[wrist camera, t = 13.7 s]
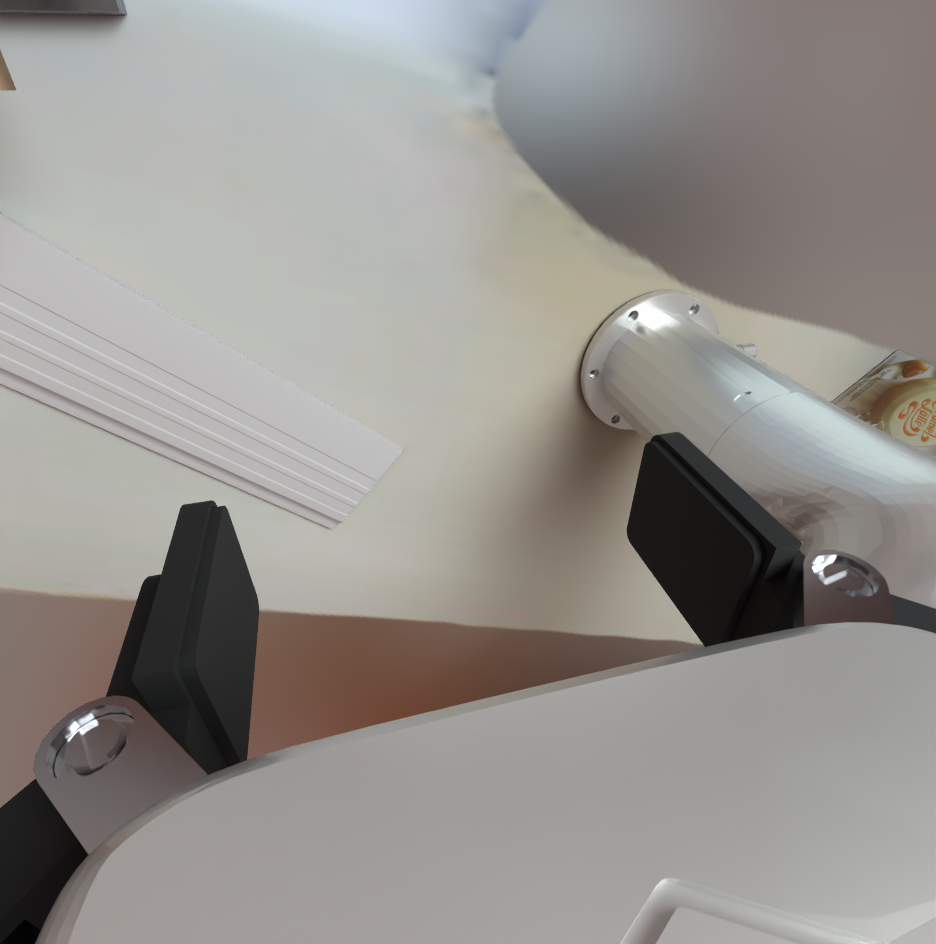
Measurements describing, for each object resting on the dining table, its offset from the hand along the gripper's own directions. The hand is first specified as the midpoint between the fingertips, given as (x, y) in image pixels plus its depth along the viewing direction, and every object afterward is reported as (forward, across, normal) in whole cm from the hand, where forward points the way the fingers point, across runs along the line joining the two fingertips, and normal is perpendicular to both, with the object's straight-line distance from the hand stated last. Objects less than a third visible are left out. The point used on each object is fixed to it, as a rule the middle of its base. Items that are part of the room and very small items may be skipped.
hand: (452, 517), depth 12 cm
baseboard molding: (+31, +14, +11) cm, 36 cm away
